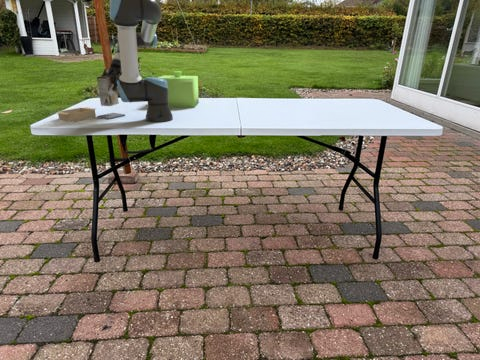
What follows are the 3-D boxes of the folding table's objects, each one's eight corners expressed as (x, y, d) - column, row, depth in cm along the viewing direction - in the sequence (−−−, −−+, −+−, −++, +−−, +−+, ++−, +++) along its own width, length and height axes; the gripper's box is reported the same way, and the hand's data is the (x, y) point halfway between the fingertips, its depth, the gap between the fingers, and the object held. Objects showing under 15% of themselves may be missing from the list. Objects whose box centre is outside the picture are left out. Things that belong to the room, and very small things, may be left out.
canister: (158, 107, 237) (155, 72, 228) (165, 102, 256) (162, 69, 248) (194, 108, 236) (193, 72, 227) (198, 102, 256) (197, 70, 247)
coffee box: (109, 103, 207) (106, 75, 201) (119, 103, 206) (115, 75, 200) (100, 105, 199) (96, 76, 193) (110, 106, 198) (106, 77, 192)
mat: (125, 116, 207) (125, 114, 207) (109, 119, 197) (109, 117, 197) (113, 114, 212) (113, 112, 211) (97, 117, 202) (97, 115, 201)
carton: (99, 116, 205) (98, 108, 203) (69, 122, 188) (68, 114, 187) (85, 114, 211) (83, 106, 209) (54, 120, 194) (53, 112, 192)
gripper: (136, 67, 206) (122, 99, 198) (108, 66, 211) (94, 97, 203) (129, 58, 199) (115, 91, 191) (101, 57, 205) (86, 89, 197)
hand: (104, 94), depth 197 cm, fingers closed on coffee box, 7 cm apart
